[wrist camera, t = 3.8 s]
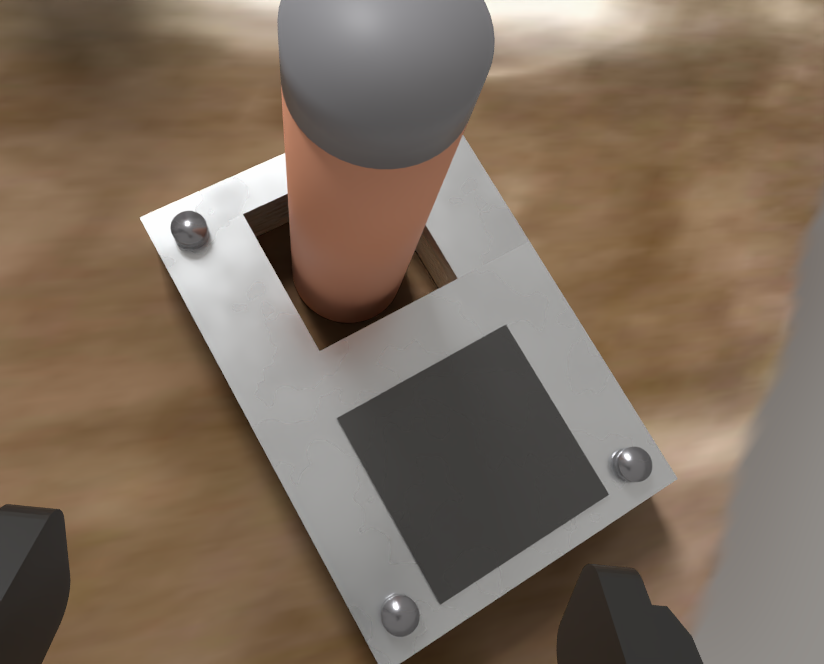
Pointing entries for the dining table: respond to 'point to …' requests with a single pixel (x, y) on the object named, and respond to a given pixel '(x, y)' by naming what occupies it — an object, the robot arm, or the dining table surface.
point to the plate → (418, 405)
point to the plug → (371, 136)
